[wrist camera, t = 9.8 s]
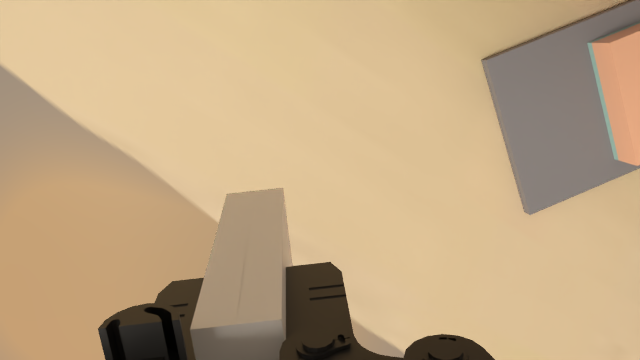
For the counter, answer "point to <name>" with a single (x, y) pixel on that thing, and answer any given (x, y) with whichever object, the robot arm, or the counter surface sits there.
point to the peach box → (620, 89)
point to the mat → (557, 110)
